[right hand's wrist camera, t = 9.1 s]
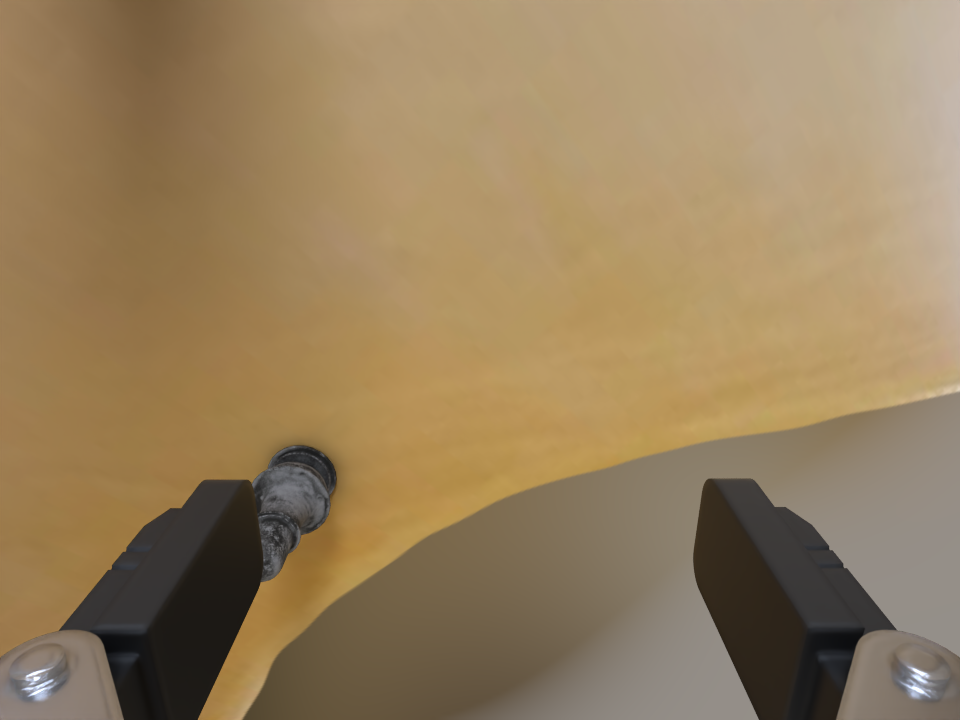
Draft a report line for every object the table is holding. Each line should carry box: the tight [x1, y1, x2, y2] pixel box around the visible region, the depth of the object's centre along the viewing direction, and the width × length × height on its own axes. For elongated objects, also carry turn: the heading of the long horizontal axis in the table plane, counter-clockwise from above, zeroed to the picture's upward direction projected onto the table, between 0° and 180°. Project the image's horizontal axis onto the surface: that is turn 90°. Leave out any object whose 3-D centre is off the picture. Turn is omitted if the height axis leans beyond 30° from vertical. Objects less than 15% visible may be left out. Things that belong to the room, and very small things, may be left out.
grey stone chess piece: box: [252, 446, 336, 582], centre depth 44 cm, size 6×6×12 cm
